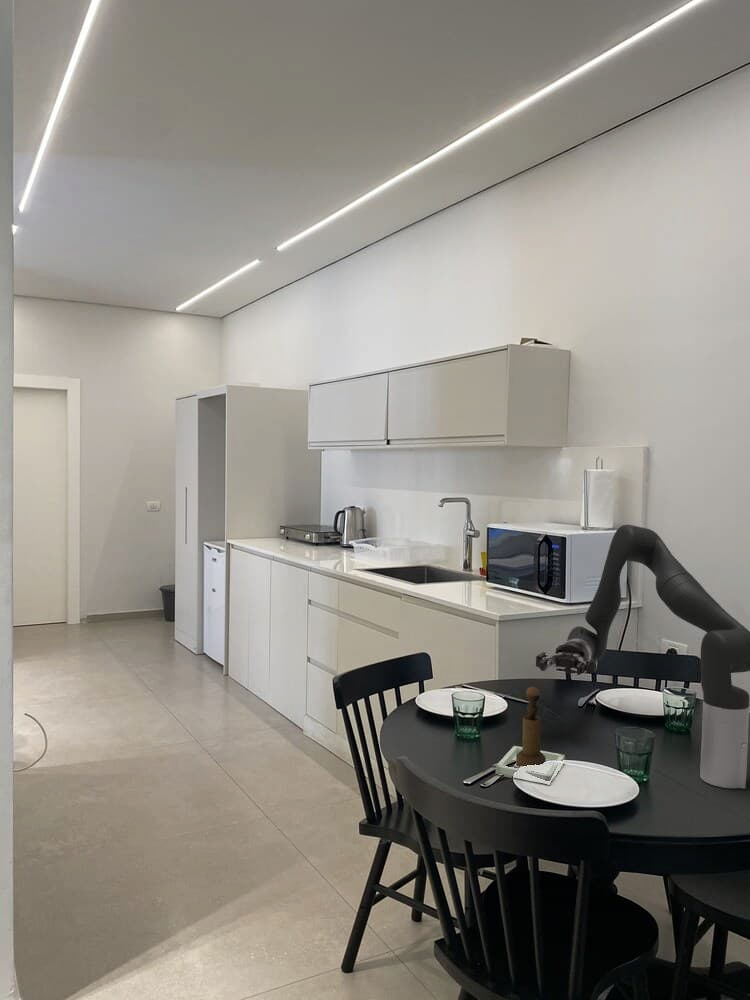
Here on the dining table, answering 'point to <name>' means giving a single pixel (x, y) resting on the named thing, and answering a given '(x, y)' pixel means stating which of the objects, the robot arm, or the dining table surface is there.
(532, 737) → the mortar and pestle
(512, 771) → the tray
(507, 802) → the dining table surface
